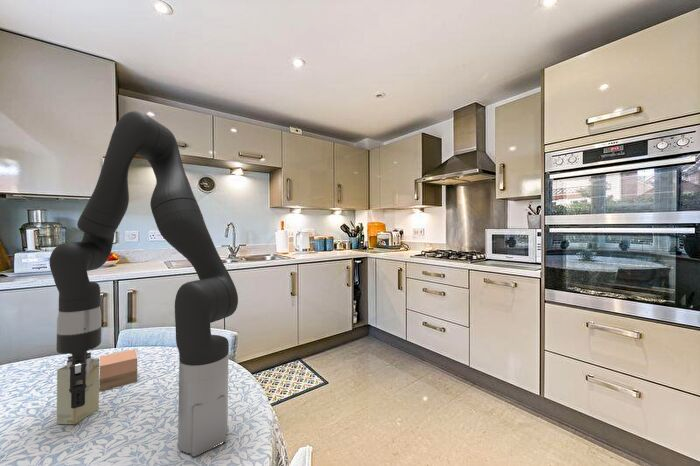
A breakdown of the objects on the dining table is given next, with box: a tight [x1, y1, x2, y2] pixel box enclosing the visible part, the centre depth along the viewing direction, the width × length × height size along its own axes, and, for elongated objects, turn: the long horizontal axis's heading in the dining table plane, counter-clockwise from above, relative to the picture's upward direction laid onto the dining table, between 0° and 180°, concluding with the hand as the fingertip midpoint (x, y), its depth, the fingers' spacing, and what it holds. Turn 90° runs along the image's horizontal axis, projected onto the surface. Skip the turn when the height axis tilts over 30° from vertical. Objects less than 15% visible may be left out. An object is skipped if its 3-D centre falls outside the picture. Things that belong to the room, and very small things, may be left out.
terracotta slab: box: [99, 348, 138, 380], centre depth 82 cm, size 8×8×4 cm
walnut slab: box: [99, 369, 138, 393], centre depth 82 cm, size 8×8×4 cm
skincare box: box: [56, 357, 100, 425], centre depth 66 cm, size 6×4×12 cm
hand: (78, 398), depth 66 cm, fingers closed on skincare box, 7 cm apart
